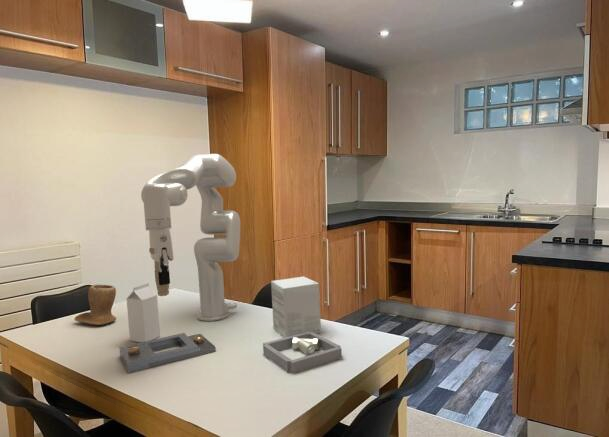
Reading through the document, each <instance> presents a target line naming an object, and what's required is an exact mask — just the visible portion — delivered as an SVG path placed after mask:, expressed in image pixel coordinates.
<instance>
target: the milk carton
mask: <svg viewBox="0 0 609 437" xmlns="http://www.w3.org/2000/svg"><path fill="white" fill-rule="evenodd" d="M126 306H127V321H128V322H127V323H128V331H129V332H128V333H129V341H130V342H137V343H141V342H145V341H150V340H154V339H158V338H160V337H161V329H160V328H161V327H160V318H159V317H160V315H159V303H158V293H156V292H155V291H154V290H153V289H152V288H151V286H150V283H149V282H147V283H144V284H141V285H138V286H135V287H133V288H132V292H131V293H130V294H129V295H128V297H126Z"/></svg>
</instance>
